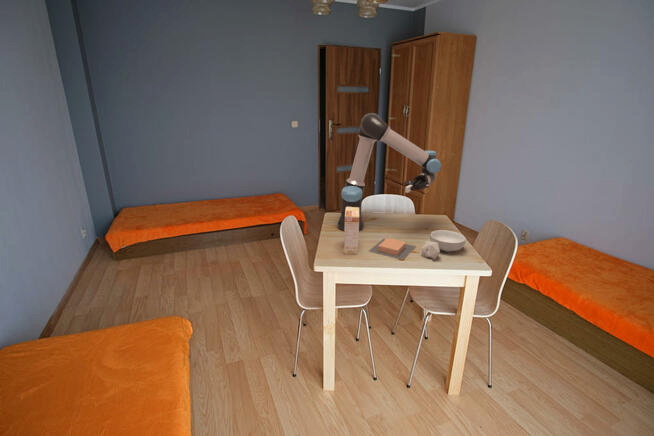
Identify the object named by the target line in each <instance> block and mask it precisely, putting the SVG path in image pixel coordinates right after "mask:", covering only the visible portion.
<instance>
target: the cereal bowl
mask: <svg viewBox="0 0 654 436" xmlns="http://www.w3.org/2000/svg"><path fill="white" fill-rule="evenodd" d="M429 239H430V240H429V241H431V242H437V243H438V245H439V249H440V251H442V252H446V253H448V252H449V253H451V252H455V251H457V252H458V251H459V250H461V249H463V247H464V246H465V244H466V240H467V239H466V237H465V236H464V235H463V234H461V233H459V232H456V231H453V230H448V229H439V230H433V231H432V232H431V233H430V236H429Z"/></svg>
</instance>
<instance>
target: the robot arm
mask: <svg viewBox="0 0 654 436" xmlns="http://www.w3.org/2000/svg"><path fill="white" fill-rule="evenodd" d="M359 126H360V127H359V130H358V134H357V136H358V138H359V139H358V140H359V141H358V145H357V149H356V152H355V156H354V160H353V163H352V167H351V170H350V175H349V177H348V178H347V179H346V180H345V184H344V187H343V188H342V190H341V195H340V196H341V203H340V204H341V205H340V216H339V219H338V221H337V229H339V230H340V231H343V232H344V228H345V210H346V207H359V232H361V231H362V230H364V225H365V224H364V221H363V216H362V201H363V193H364V190H365V187H366V184H365V182H364V180H365V177H366V173H367V169H368V166H369V162H370V159H371V155H372V151H373V148H374V144H375V142H382V143H384V144H386V145H387V146H389V147H391V148H392V149H394V151H396V152H398V153H400V154H401V155H403V156H405V157H406V158H408V159H409V160H411V161H413V162H415V164H417V165H419V166H421V170H420V174H419V175H417V176H415V177H414V178H413V179H412V180H411V181H410V180H406V182H405V185H404V192H405V193H406V194H407V193H411V192H412V191H415V190H416V191H420V190H423V189H426V188H429V186H430V185H431V184H432V183H434V182H435V180H436V178H437V175H436V174H437V173H439V172H440V170H441V169H442V163H441V161H440V159H438V158H437V152H436V151H435V150H424V149H423V148H420V147H419V146H418V145H416V144H415V143H413V142H411V141H410V140H408V139H407V138H405V137H403V135H400V133H397V132H396V131H394V130H393V129H392V128H391V127H390V125H389V124H387V123H386V122H385V121H384V120H383V119H382V117H381V116H380V115H378V114H377V113H374V112H369V113H366V114H364V115H363V117H362V118H361V120H360V125H359Z"/></svg>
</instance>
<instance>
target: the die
mask: <svg viewBox="0 0 654 436" xmlns="http://www.w3.org/2000/svg"><path fill="white" fill-rule="evenodd" d="M421 251H422V256H423V257H425V258H429V259H432V260H436V259H437V257H438V256H439V254H440V253H441V250H440V249H439V245H438V243H437V242H431V240H426V241H425V243H424V244H423V245H422V247H421Z"/></svg>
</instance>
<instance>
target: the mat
mask: <svg viewBox="0 0 654 436" xmlns="http://www.w3.org/2000/svg"><path fill="white" fill-rule="evenodd" d="M386 239H387V238H386ZM386 239H385V238H382V239H381V240H380V241H379V242H378V243H376V244H375V245H373V247H372V248H370V249H369V250H368V253H369V252H370V253H373V254H377V255H382V256H385V257H389V258H394V259H396V260H400V261H404V260H405V259H406V258H407V257H408V256H409V255H410V254H411V253H412V252H413V251H414V250H415V249H416V248H417V246H415V245H411V244H407V243H406V247H405V248H404V249H403V250H402V251H401V252H400V253H399V254H398V255H397V256H395V255H391V254H387V253H383V252H379V251H378V245H380V244H381V243H382V242H383V241H384V240H386Z"/></svg>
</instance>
